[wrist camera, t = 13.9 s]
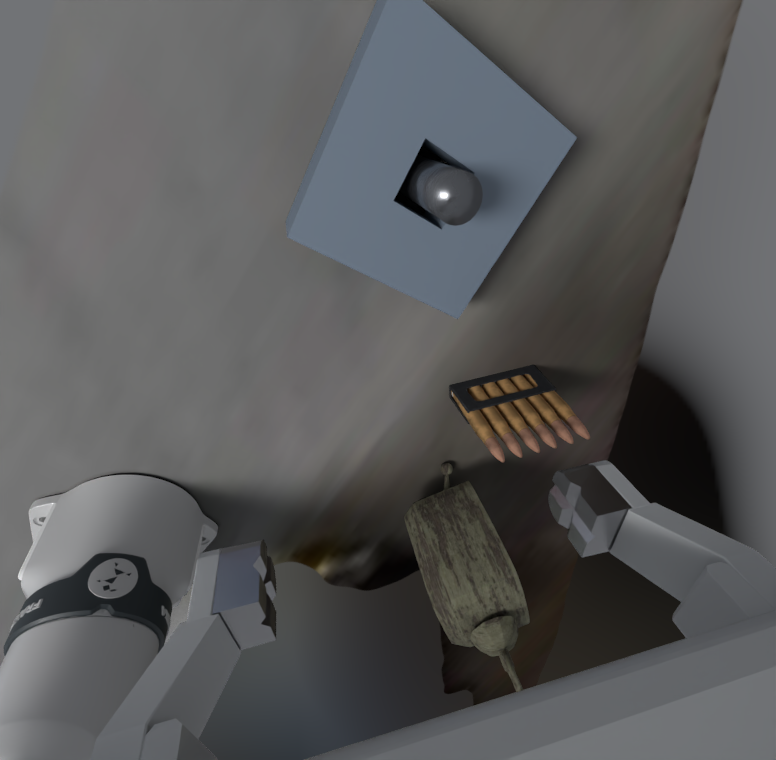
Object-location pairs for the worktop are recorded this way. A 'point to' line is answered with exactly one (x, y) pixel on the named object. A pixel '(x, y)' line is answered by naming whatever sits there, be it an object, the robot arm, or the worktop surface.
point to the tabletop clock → (468, 571)
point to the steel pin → (443, 190)
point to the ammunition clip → (515, 410)
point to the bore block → (400, 147)
